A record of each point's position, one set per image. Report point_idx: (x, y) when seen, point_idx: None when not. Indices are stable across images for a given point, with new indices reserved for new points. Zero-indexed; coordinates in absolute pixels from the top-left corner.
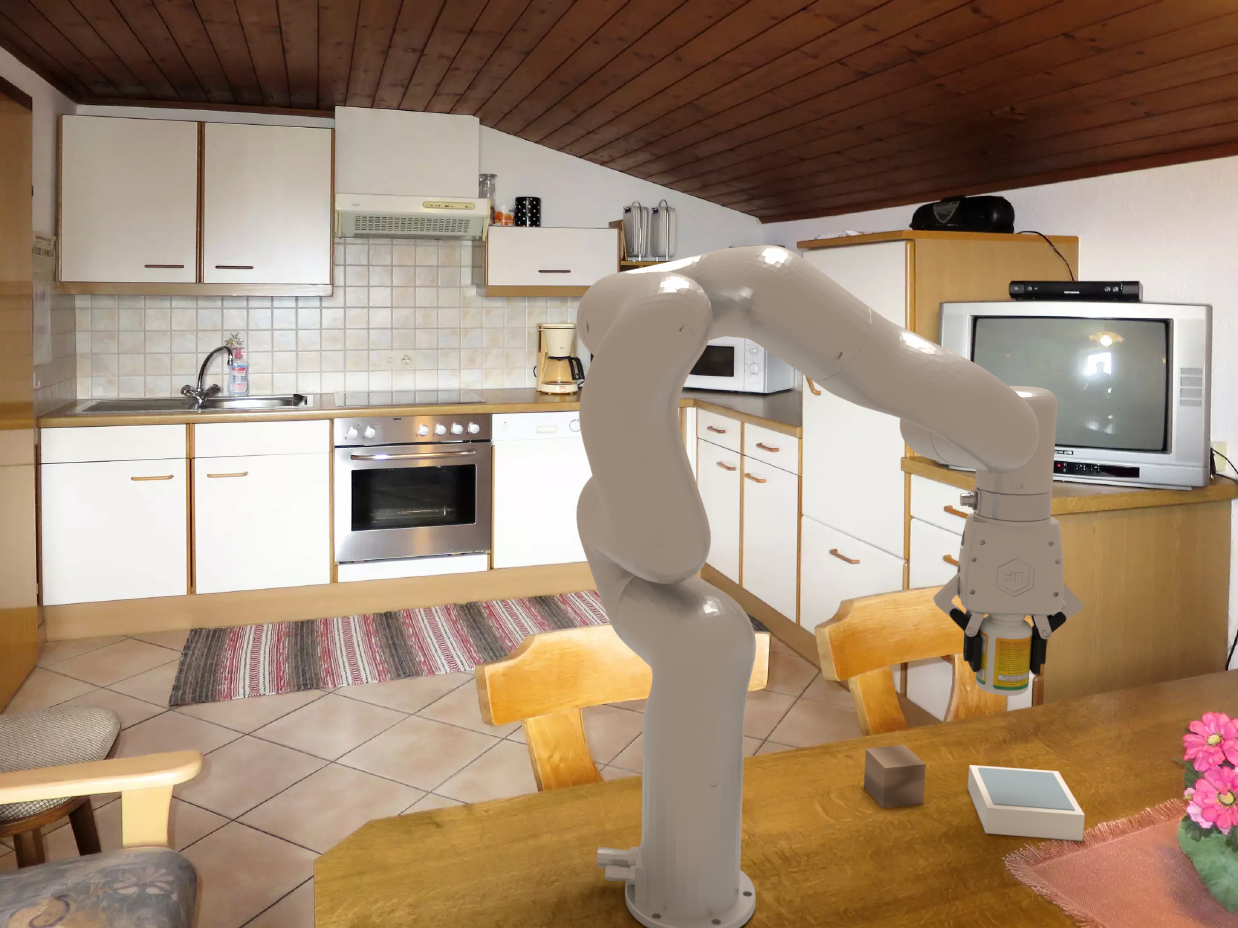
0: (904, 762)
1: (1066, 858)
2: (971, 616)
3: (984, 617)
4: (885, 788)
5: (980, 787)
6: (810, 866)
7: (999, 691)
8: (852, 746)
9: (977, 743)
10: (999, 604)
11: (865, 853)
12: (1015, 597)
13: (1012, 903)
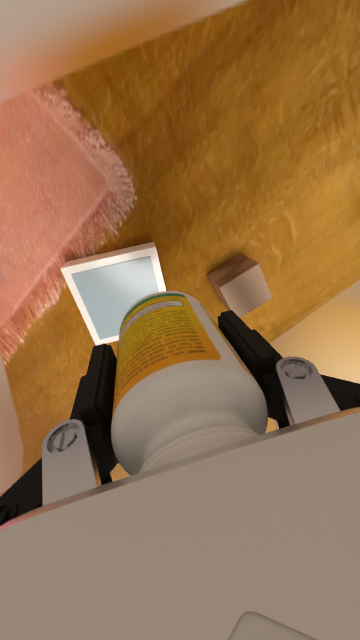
0: (239, 283)
1: (77, 220)
2: (336, 408)
3: None
4: (247, 258)
5: (163, 286)
6: (315, 105)
7: (171, 291)
8: None
9: None
10: (309, 489)
11: (261, 156)
12: (234, 612)
13: (120, 94)
